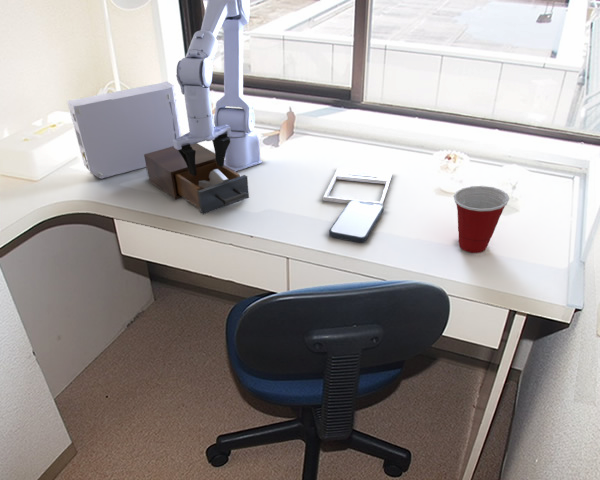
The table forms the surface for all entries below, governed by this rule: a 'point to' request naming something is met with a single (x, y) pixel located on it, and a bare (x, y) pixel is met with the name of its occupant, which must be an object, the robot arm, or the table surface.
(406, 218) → the table surface
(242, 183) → the drawer
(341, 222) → the smartphone
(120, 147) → the game console
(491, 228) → the plastic cup
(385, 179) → the photo frame
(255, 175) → the table surface
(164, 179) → the cabinet
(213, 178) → the lighter
